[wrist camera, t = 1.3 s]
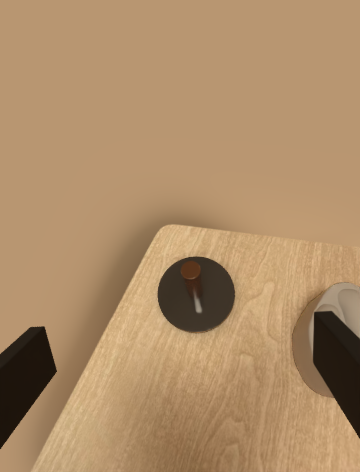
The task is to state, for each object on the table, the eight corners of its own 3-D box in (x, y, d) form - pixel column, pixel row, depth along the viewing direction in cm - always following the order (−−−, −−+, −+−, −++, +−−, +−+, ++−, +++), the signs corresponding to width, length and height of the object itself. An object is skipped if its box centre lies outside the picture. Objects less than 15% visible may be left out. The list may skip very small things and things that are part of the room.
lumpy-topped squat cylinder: (388, 330, 33) (437, 317, 26) (356, 421, 29) (405, 436, 21) (313, 289, 37) (338, 267, 30) (276, 363, 33) (293, 359, 26)
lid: (152, 327, 38) (133, 312, 29) (166, 256, 44) (154, 226, 35) (232, 339, 35) (238, 326, 27) (235, 262, 42) (241, 231, 33)
